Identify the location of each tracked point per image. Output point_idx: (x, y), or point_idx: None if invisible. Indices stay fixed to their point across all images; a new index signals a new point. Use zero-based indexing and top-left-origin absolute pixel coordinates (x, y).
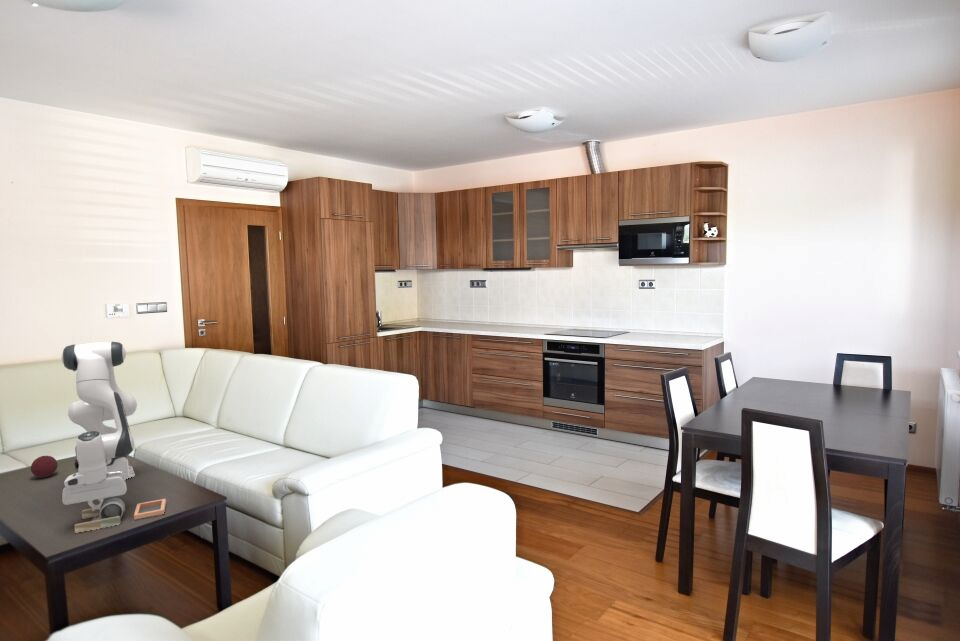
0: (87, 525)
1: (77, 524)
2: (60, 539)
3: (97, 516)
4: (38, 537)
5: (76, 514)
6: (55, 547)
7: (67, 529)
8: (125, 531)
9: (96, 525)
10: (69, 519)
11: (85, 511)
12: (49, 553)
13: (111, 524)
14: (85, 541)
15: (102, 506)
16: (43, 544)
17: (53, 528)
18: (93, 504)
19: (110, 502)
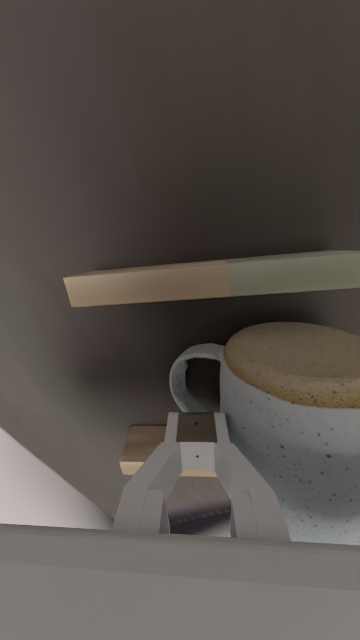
0: None
1: (131, 468)
2: (100, 455)
3: (188, 358)
4: (5, 410)
5: (21, 187)
6: (112, 493)
7: (83, 387)
8: None
9: None
10: (24, 264)
11: (96, 305)
12: (112, 514)
13: None
14: (191, 497)
15: (198, 267)
16: (61, 464)
17: (10, 351)
18: (171, 464)
19: (328, 539)
